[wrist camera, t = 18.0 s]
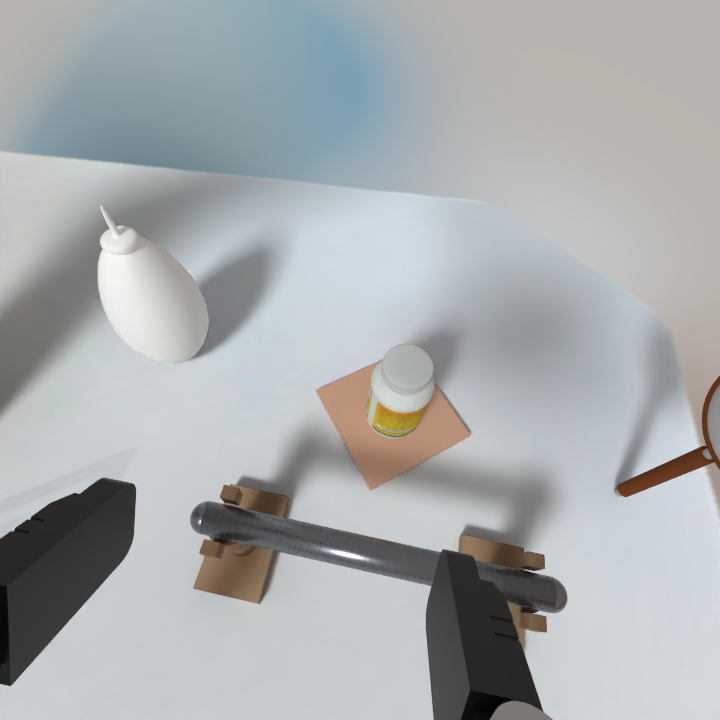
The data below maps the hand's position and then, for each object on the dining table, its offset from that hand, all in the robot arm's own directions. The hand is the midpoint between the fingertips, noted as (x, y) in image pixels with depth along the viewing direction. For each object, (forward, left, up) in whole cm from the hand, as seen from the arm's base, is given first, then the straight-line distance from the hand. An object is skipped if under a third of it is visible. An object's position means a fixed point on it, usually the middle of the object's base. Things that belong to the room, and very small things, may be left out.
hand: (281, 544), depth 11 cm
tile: (-10, +13, -26) cm, 31 cm away
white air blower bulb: (-27, -2, -26) cm, 38 cm away
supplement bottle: (-10, +13, -26) cm, 31 cm away
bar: (0, +4, -17) cm, 18 cm away
